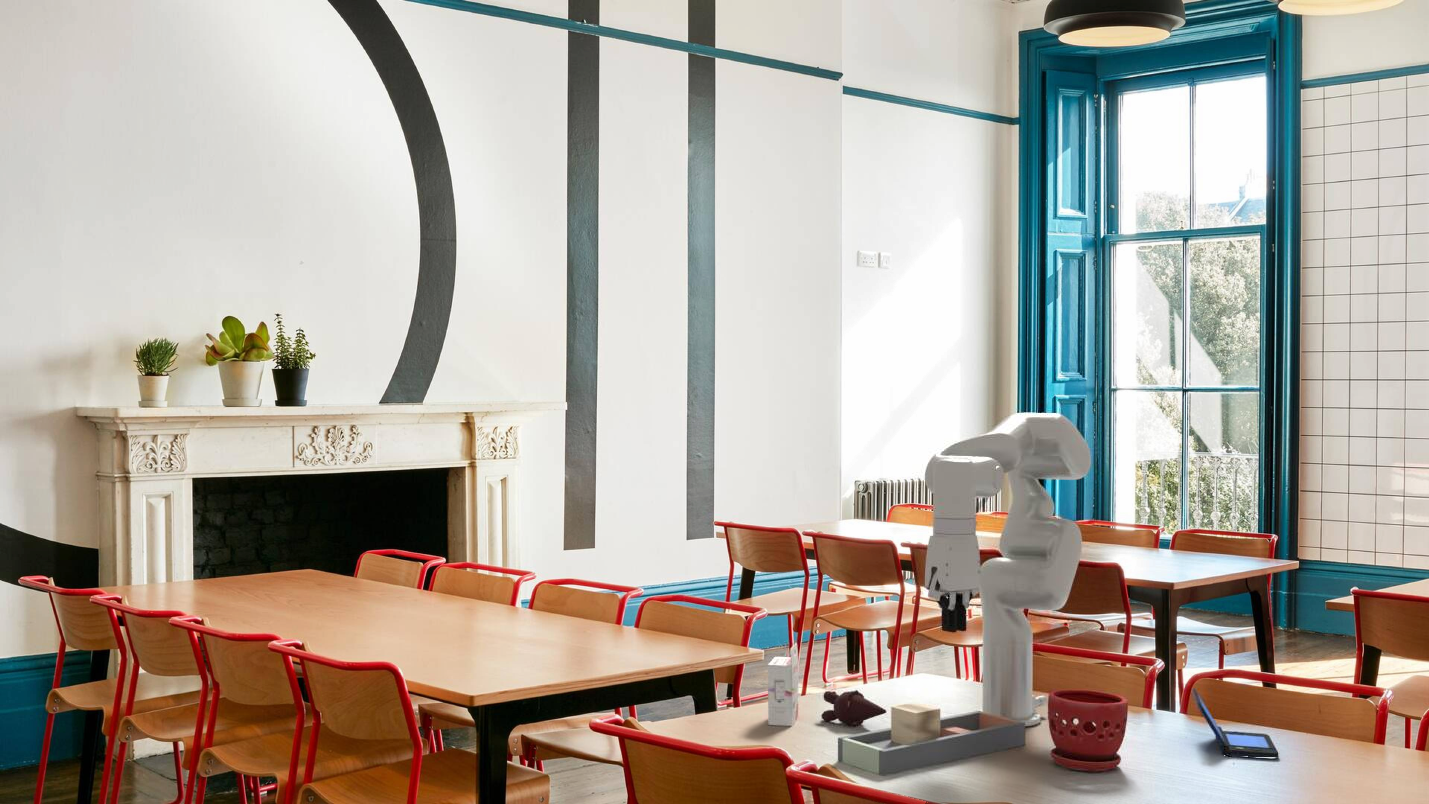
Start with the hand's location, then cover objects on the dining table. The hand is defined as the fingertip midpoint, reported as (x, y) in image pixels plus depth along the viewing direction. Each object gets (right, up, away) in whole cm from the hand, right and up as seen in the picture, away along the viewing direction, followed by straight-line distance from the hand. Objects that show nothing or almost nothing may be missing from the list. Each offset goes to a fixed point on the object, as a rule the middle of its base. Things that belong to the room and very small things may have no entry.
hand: (953, 630), depth 238 cm
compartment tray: (-4, -21, -3) cm, 22 cm away
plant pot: (+21, -21, -11) cm, 32 cm away
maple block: (-8, -19, -6) cm, 21 cm away
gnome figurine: (-16, -21, +17) cm, 32 cm away
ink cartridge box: (-29, -21, +20) cm, 42 cm away
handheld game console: (+51, -22, +2) cm, 55 cm away
